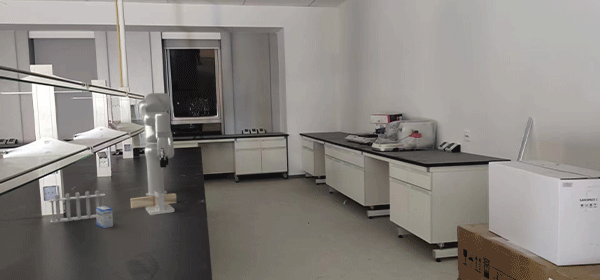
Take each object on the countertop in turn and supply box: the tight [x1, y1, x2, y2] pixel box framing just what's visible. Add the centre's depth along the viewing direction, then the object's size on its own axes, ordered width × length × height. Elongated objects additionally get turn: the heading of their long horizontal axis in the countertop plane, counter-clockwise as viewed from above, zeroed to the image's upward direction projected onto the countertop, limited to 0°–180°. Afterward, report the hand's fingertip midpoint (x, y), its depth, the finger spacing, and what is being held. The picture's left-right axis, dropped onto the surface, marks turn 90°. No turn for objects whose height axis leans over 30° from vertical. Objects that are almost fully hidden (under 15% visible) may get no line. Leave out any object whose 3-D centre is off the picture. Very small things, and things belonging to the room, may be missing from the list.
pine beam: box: [129, 192, 177, 210], centre depth 244 cm, size 4×24×5 cm, turn 120°
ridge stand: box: [145, 190, 175, 216], centre depth 230 cm, size 14×12×10 cm
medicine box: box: [95, 205, 114, 229], centre depth 203 cm, size 8×4×9 cm, turn 47°
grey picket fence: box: [48, 190, 106, 224], centre depth 217 cm, size 25×4×13 cm, turn 117°
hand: (164, 166), depth 241 cm, fingers open, 9 cm apart
